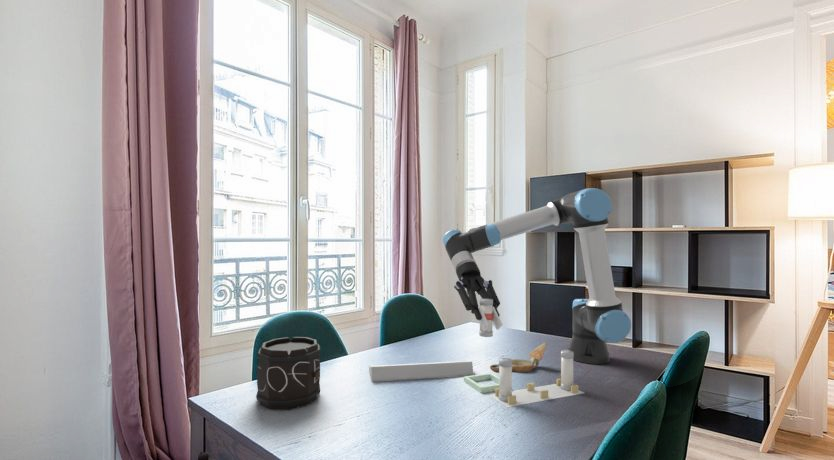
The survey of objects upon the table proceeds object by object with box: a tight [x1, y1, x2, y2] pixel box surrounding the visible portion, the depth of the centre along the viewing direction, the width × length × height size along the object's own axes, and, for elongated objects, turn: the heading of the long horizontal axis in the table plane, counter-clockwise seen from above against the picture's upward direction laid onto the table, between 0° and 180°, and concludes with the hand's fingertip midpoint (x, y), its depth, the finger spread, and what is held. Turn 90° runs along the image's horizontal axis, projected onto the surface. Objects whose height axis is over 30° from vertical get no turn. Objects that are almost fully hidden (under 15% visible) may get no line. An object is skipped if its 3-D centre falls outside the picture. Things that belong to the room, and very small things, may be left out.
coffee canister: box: [255, 336, 322, 411], centre depth 115 cm, size 18×18×16 cm
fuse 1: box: [498, 357, 513, 402], centre depth 112 cm, size 4×4×11 cm
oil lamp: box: [489, 341, 547, 374], centre depth 139 cm, size 9×21×10 cm, turn 105°
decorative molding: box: [368, 360, 474, 383], centre depth 137 cm, size 34×5×10 cm
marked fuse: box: [478, 297, 494, 338], centre depth 123 cm, size 4×4×11 cm
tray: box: [463, 372, 499, 394], centre depth 123 cm, size 10×10×3 cm
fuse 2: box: [560, 349, 575, 391], centre depth 121 cm, size 4×4×11 cm
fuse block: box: [489, 377, 585, 408], centre depth 116 cm, size 27×9×4 cm, turn 113°
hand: (493, 327), depth 120 cm, fingers closed on marked fuse, 4 cm apart
